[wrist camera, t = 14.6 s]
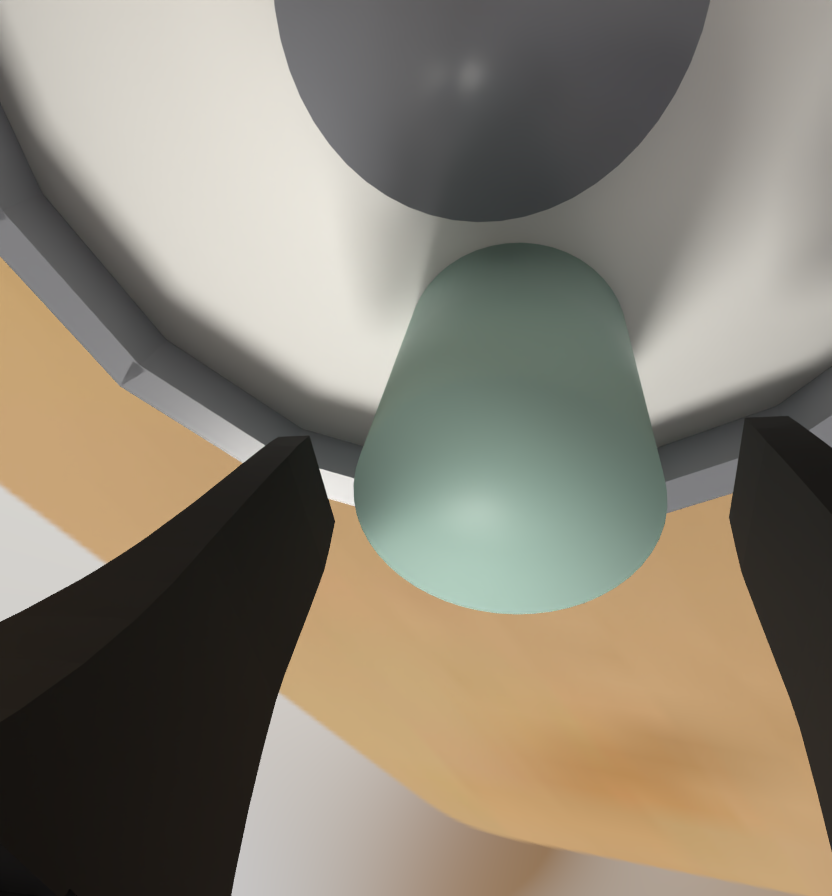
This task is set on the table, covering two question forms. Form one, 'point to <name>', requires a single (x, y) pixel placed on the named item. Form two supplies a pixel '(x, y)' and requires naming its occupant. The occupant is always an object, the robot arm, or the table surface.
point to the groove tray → (422, 198)
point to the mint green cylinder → (513, 439)
